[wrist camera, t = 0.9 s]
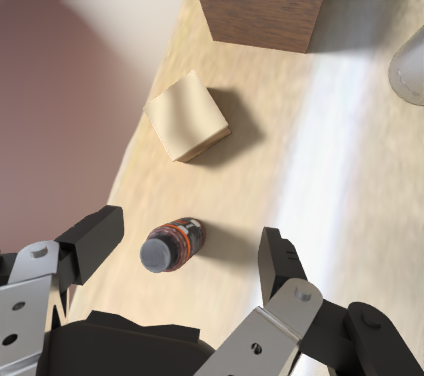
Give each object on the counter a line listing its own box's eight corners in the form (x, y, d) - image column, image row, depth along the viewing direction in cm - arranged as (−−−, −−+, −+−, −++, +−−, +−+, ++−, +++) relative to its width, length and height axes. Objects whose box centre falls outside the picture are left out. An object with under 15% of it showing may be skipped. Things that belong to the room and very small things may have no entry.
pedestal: (203, 85, 35) (194, 68, 30) (233, 133, 33) (228, 124, 29) (158, 118, 36) (142, 107, 32) (184, 165, 35) (172, 161, 31)
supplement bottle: (196, 210, 35) (165, 221, 24) (212, 243, 34) (188, 270, 23) (166, 225, 36) (124, 242, 25) (181, 258, 36) (144, 289, 25)
